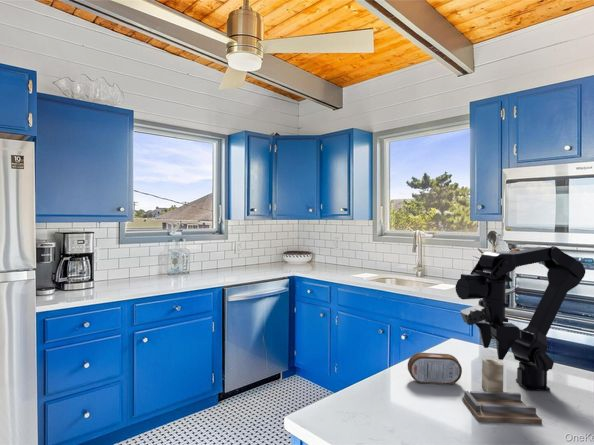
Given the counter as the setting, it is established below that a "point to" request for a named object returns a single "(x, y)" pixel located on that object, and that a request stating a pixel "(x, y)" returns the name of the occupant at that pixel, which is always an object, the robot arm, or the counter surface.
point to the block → (492, 375)
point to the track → (500, 407)
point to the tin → (434, 368)
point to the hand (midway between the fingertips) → (493, 353)
